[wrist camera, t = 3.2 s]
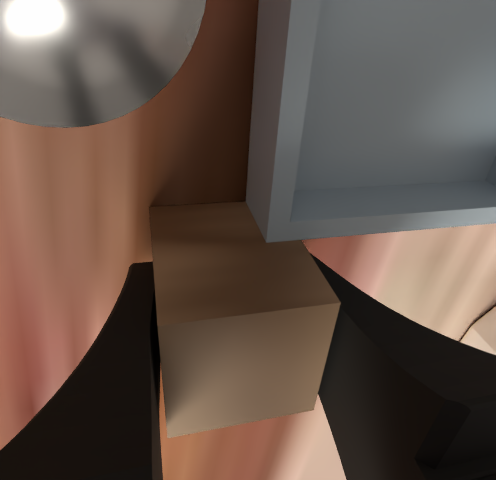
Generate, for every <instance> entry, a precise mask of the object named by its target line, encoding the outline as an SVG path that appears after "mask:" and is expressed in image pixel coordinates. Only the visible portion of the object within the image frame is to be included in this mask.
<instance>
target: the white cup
mask: <svg viewBox="0 0 496 480" xmlns="http://www.w3.org/2000/svg"><path fill="white" fill-rule="evenodd" d="M460 342H461V343H464V344H466V345H469V346H472V347H474V348H477V349H480V350H482V351H485V352H488V353H491V354H494V355H496V306H495V307H494V308H493V309H491V310H490V311H489V312H488V313H486V314H485V315H484V316H483V317H481V318H480V319H479V320H478V321H477V322H475V323H474V324H473V325H472V326H471V327H470V329H469V330H468V331H467V333H466V334H465V335H464V337H463V338H462V340H461V341H460Z"/></svg>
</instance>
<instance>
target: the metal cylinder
mask: <svg viewBox="0 0 496 480" xmlns="http://www.w3.org/2000/svg"><path fill="white" fill-rule="evenodd" d="M205 4H206V0H0V117H3V118H7V119H10V120H14V121H17V122H21V123H25V124H31V125H38V126H44V127H62V128H68V127H82V126H89V125H94V124H99V123H104V122H107V121H110V120H113V119H116V118H118V117H121V116H124V115H125V114H127V113H129V112H131V111H133V110H135V109H137V108H139V107H140V106H142V105H143V104H145V103H146V102H148V101H149V100H150V99H152V98H153V97H154V96H155V95H156V94H158V93H159V92H160V91H161V90H162V89H163V88H164V87H165V86H166V85H167V84H168V83H169V82H170V80H171V79H172V78H173V77H174V75H175V74H176V73H177V72H178V70H179V69H180V67H181V66H182V64H183V62H184V61H185V59H186V57H187V56H188V54H189V52H190V50H191V48H192V46H193V43H194V41H195V39H196V36H197V34H198V31H199V28H200V24H201V21H202V18H203V14H204V10H205Z"/></svg>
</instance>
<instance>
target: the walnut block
mask: <svg viewBox="0 0 496 480" xmlns="http://www.w3.org/2000/svg"><path fill="white" fill-rule="evenodd" d="M149 213H150V227H151V241H152V255H153V269H154V283H155V297H156V311H157V325H158V337H159V348H160V359H161V370H162V381H163V392H164V404H165V415H166V426H167V437H168V438H171V437H176V436H182V435H187V434H192V433H197V432H202V431H208V430H213V429H218V428H223V427H228V426H234V425H239V424H244V423H249V422H254V421H260V420H265V419H270V418H275V417H280V416H286V415H291V414H296V413H301V412H306V411H312V410H314V406H315V402H316V398H317V394H318V391H319V387H320V383H321V379H322V375H323V371H324V367H325V363H326V359H327V355H328V351H329V347H330V343H331V339H332V335H333V331H334V327H335V323H336V319H337V316H338V312H339V308H340V304H341V302H340V301H339V299H338V297H337V296H336V294H335V293H334V291H333V290H332V288H331V286H330V285H329V283H328V282H327V280H326V279H325V277H324V275H323V274H322V272H321V271H320V269H319V268H318V266H317V264H316V263H315V261H314V260H313V258H312V256H311V255H310V253H309V252H308V250H307V249H306V247H305V245H304V244H303V242H302V241H301V240H293V241H281V242H269V243H266V241H265V239H264V237H263V235H262V233H261V231H260V229H259V227H258V225H257V223H256V221H255V219H254V217H253V215H252V213H251V211H250V209H249V207H248V205H247V203H246V201H241V202H224V203H207V204H190V205H173V206H156V207H149Z"/></svg>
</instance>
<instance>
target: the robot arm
mask: <svg viewBox="0 0 496 480" xmlns="http://www.w3.org/2000/svg"><path fill="white" fill-rule="evenodd" d="M310 255H311V256H312V258H313V260H314V261H315V263H316V264H317V266H318V268H319V269H320V271H321V272H322V274H323V275H324V277H325V279H326V280H327V282H328V283H329V285H330V286H331V288H332V290H333V291H334V293H335V294H336V296H337V297H338V299H339V301H340V302H341V304H340V308H339V312H338V316H337V319H336V323H335V327H334V331H333V335H332V339H331V343H330V347H329V351H328V355H327V359H326V363H325V367H324V371H323V375H322V379H321V383H320V387H319V391H318V395H319V397H320V400H321V403H322V405H323V408H324V411H325V414H326V417H327V420H328V423H329V426H330V429H331V432H332V435H333V438H334V441H335V444H336V447H337V450H338V453H339V456H340V459H341V463H342V466H343V469H344V473H345V476H346V479H347V480H496V355H494V354H491V353H488V352H485V351H482V350H480V349H477V348H474V347H472V346H469V345H466V344H464V343H461V342H459V341H456V340H454V339H451V338H449V337H446V336H444V335H442V334H440V333H437V332H435V331H433V330H431V329H429V328H426V327H424V326H422V325H420V324H418V323H416V322H414V321H412V320H410V319H408V318H406V317H404V316H403V315H401V314H399V313H397V312H395V311H393V310H392V309H390V308H388V307H386V306H385V305H383V304H381V303H380V302H378V301H377V300H375V299H373V298H372V297H370V296H369V295H367V294H366V293H364V292H363V291H361V290H360V289H358V288H357V287H355V286H354V285H352V284H351V283H350V282H348V281H347V280H345V279H344V278H343V277H341V276H340V275H339V274H337V273H336V272H335V271H333V270H332V269H331V268H329V267H328V266H327V265H325V264H324V263H323V262H321V261H320V260H319V259H317V258H316V257H315V256H313V255H312V254H311V253H310ZM160 365H161V359H160V348H159V337H158V325H157V311H156V297H155V283H154V269H153V262H143V263H133V264H132V265H131V266H130V267H129V271H128V274H127V278H126V281H125V283H124V286H123V288H122V291H121V293H120V295H119V297H118V299H117V301H116V304H115V306H114V308H113V310H112V312H111V314H110V316H109V317H108V319H107V321H106V323H105V324H104V326H103V328H102V330H101V331H100V333H99V335H98V336H97V338H96V340H95V341H94V343H93V344H92V346H91V347H90V349H89V350H88V352H87V353H86V355H85V356H84V358H83V359H82V360H81V362H80V363H79V365H78V366H77V367H76V369H75V370H74V371H73V372H72V374H71V375H70V376H69V377H68V379H67V380H66V381H65V383H64V384H63V385H62V386H61V388H60V389H59V390H58V391H57V392H56V393H55V395H54V396H53V397H52V398H51V399H50V400H49V401H48V402H47V404H46V405H45V406H44V407H43V408H42V409H41V410H40V411H39V412H38V413H37V414H36V415H35V416H34V418H33V419H32V420H31V421H30V422H29V423H28V424H27V425H26V426H25V427H24V428H23V429H22V430H21V431H20V432H19V433H18V434H17V435H16V436H15V437H14V438H13V439H12V440H11V441H10V442H9V443H8V444H7V445H6V446H5V447H4V448H2V449H1V450H0V480H163V474H162V458H161V443H160V427H159V402H160Z"/></svg>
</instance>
